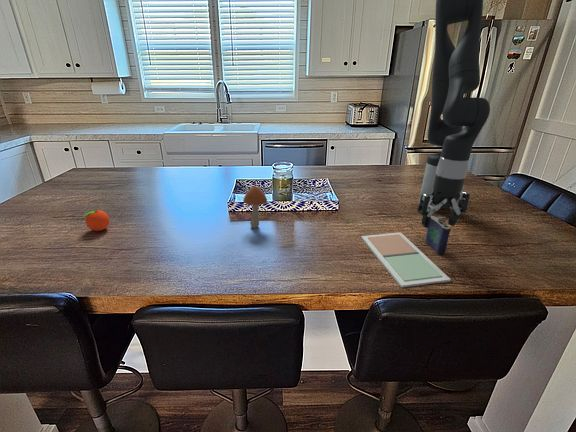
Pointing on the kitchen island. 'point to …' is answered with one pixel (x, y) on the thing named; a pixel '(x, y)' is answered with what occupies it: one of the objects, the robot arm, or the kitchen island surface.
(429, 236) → the flask
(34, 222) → the kitchen island surface
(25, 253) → the kitchen island surface
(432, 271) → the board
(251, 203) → the mushroom
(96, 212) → the clementine
